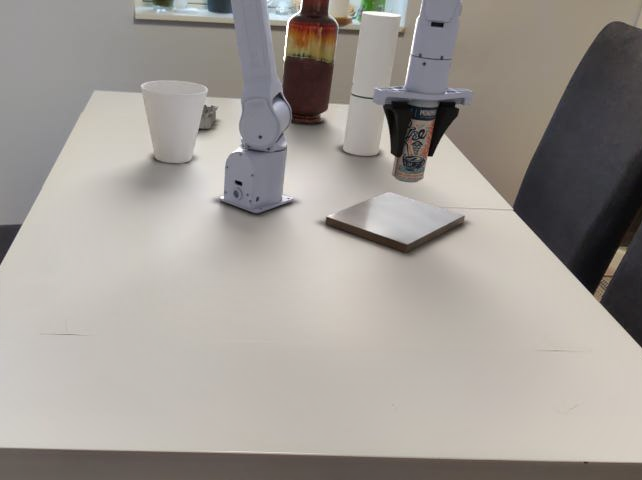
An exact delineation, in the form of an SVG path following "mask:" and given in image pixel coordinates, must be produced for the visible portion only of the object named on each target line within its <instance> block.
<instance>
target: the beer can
mask: <svg viewBox="0 0 642 480" xmlns="http://www.w3.org/2000/svg"><path fill="white" fill-rule="evenodd" d="M407 106H408V107H409V110H411V111H412V112H413V113H414V114H413V116H412V118H411V121H410V123H409V126H408V129H407V132H406V136H405V141H404V147H403V151H402V154H401V157H395V156H394V160H393V164H392V169H391V170H392V171H391V176H392V177H394V178H395V180H397V181H400V182H403V183H418V182H420V181H422V180H423V179H424V177H425V172H426V166H427V160H428V152H429V147H430V142H431V138H432V133H433V128H434V123H435V118H436V114H437V109H438V106H439V104H438V100H419V99H414V100H411V101H409V102H408V104H407Z"/></svg>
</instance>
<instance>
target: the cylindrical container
mask: <svg viewBox="0 0 642 480" xmlns="http://www.w3.org/2000/svg"><path fill="white" fill-rule="evenodd" d="M401 20H402V15H401V14H398V13H392V12H386V11H374V10H373V11H371V10H369V11H367V10H365V11H362V12H361V18H360V24H359V25H360V26H359V34H358V38H357V47H356V54H355V59H354V68H353V74H352V81H351V82H352V83H351V89H350V97H349V101H348V102H349V103H348V111H347V118H346V125H345V130H344V139H343V146H342V150H343V151H344V152H345V153H347V154H350V155H354V156H361V157H362V156H363V157H371V156H377V155H378V154H379V150H380V146H381V141H382V140H381V139H382V133H383V129H384V128H383V127H384V122H385V117H386V115H385V112H384V109H383V105H378V104H376V103H374V102H373V96H374V89H375V88H384V87H391V80H392V75H393V68H394V62H395V57H396V50H397V45H398V39H399V33H400V32H399V31H400V26H401Z"/></svg>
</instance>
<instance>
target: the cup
mask: <svg viewBox="0 0 642 480" xmlns="http://www.w3.org/2000/svg"><path fill="white" fill-rule="evenodd" d="M139 87H140V91H141V94H142V100H143V104H144V105H143V106H144V109H145V114H146V119H147V125H148V129H149V135H150V140H151V144H152V149H153V155H154V158H155V159H156V161H160V162H163V163H166V164H167V163H168V164H181V163H182V164H183V163H188V162H190V161H191V160H192V159H193V156H194V150H195V147H196V143H197V137H198V133H199V129H200V128H199V125H200V121H201V116H202V112H203V108H204V105H205V104H206V98H207V94H208V92H209V89H208V88H207V86H205V85H203V84H201V83H196V82H192V81H184V80H171V79H167V80H166V79H164V80H163V79H162V80H152V81H151V80H150V81H146V82H143V83H142V84H141V85H140V86H139Z"/></svg>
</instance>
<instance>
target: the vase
mask: <svg viewBox="0 0 642 480" xmlns="http://www.w3.org/2000/svg"><path fill="white" fill-rule="evenodd" d="M330 1H331V0H301V3H300V10H299V11H298V12H297V13H295V14H293V15H292V16H291V17H289V19H288V21H287V23H286V24H287V25H286V35H285V43H284V44H285V45H284V56H283V66H282V77H281V78H282V79H281V84H282V89H283V94H284V97H285V99H286V101H287V102H288V103H289V105H290V107H291V111H292V120H291V123H296V124H304V125H305V124H306V125H315V124H319V123H322V122H323V116H322V114H323V113H325V112H327V111H328V110H329V104H330V99H331V98H330V97H331V90H332V82H333V74H334V68H335V59H336V53H337V52H336V51H337V43H338V34H339V23H338V22H337V20H336V19H335V17H333V16H332V15H331V14H330V13H329V10H330Z"/></svg>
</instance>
